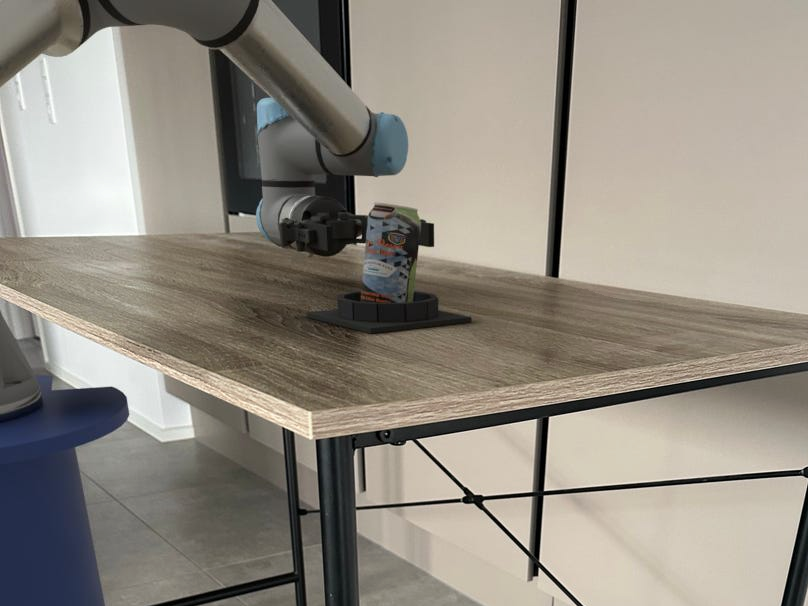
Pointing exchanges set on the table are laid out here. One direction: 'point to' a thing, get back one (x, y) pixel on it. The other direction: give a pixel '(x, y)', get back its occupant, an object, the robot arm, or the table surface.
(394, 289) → the beverage can
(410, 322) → the holder pad
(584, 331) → the table surface
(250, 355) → the table surface
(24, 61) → the robot arm
